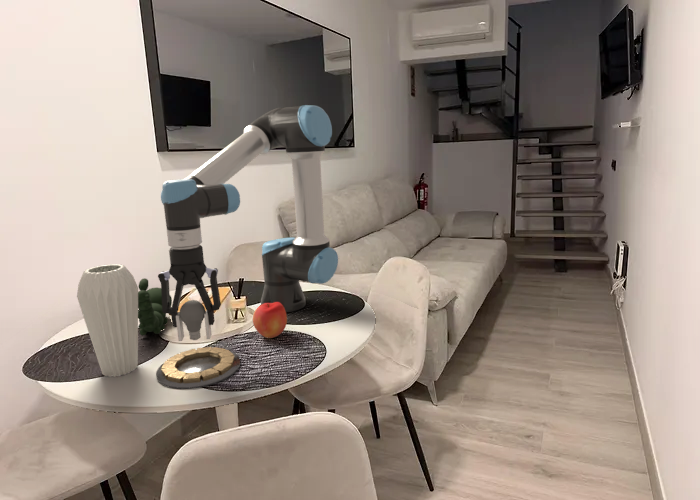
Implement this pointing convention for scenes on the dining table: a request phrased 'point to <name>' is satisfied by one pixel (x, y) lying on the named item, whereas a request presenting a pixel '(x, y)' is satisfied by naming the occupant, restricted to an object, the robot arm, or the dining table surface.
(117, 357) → the vase
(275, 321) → the apple
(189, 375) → the socket
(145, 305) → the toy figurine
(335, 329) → the dining table surface
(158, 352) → the dining table surface
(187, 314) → the light bulb
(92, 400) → the dining table surface
